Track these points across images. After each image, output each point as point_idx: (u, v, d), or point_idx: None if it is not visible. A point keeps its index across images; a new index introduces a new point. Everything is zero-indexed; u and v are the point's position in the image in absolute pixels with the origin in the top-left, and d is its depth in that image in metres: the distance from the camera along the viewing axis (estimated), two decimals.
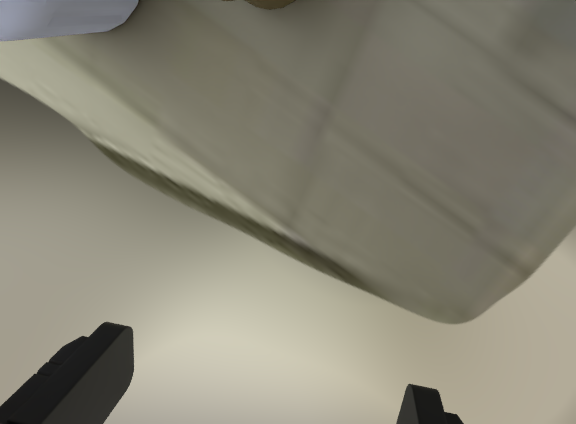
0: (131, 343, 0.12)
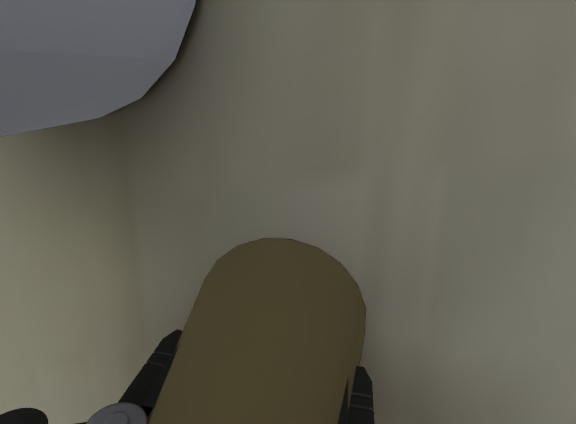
0: None
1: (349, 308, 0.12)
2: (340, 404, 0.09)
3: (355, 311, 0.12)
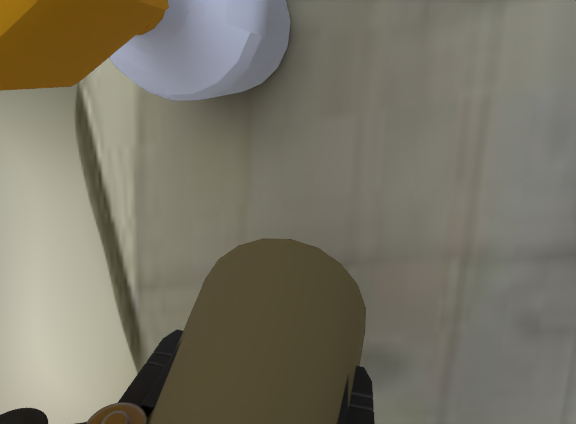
0: None
1: (349, 308, 0.12)
2: (340, 403, 0.09)
3: (355, 311, 0.12)
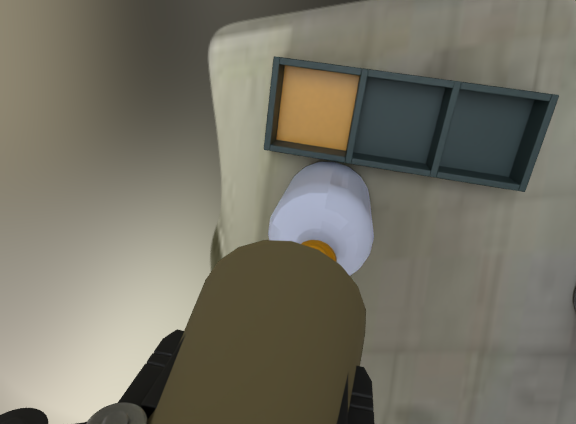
0: None
1: (349, 310, 0.12)
2: None
3: (355, 313, 0.12)
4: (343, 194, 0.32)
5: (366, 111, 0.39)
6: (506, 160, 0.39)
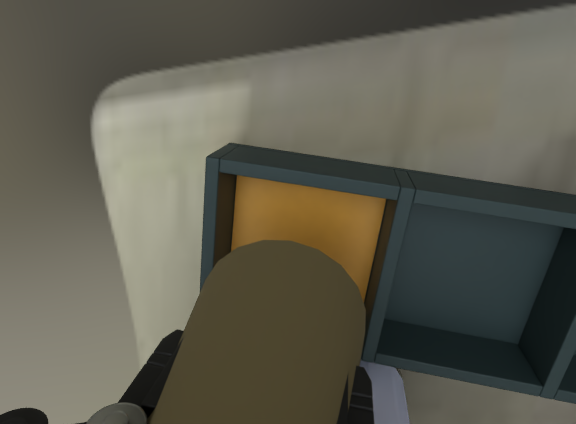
0: None
1: (349, 309, 0.12)
2: (340, 405, 0.09)
3: (355, 312, 0.12)
4: None
5: (402, 248, 0.20)
6: None
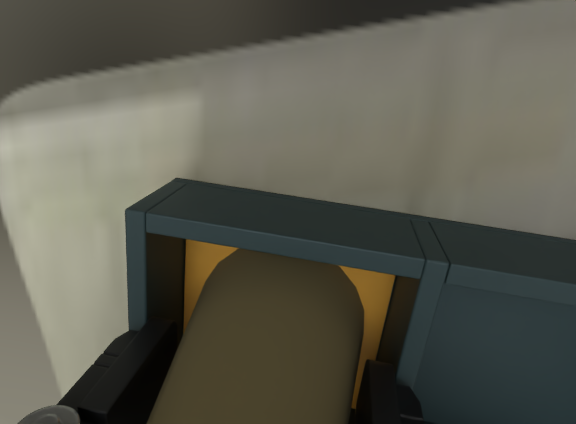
0: (176, 337, 0.12)
1: (348, 311, 0.12)
2: (339, 406, 0.09)
3: (354, 314, 0.13)
4: None
5: None
6: None
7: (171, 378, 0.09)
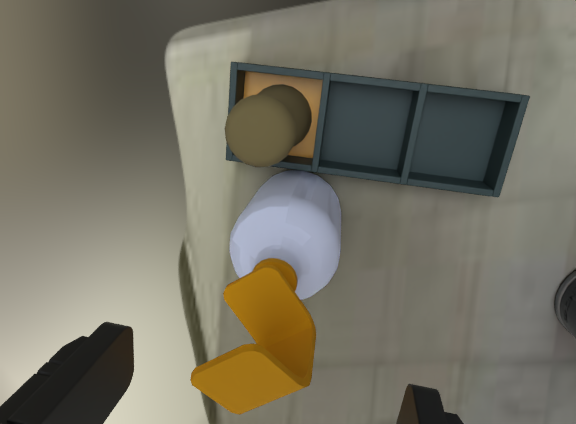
0: (131, 343, 0.12)
1: (303, 102, 0.35)
2: (298, 112, 0.33)
3: (306, 105, 0.36)
4: (305, 207, 0.30)
5: (332, 117, 0.37)
6: (479, 164, 0.37)
7: None
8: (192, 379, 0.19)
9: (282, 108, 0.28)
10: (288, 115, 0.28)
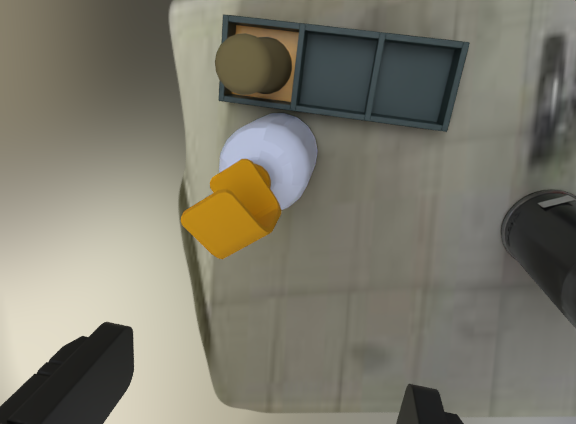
0: (131, 343, 0.12)
1: (284, 50, 0.42)
2: (277, 55, 0.39)
3: (286, 54, 0.43)
4: (280, 129, 0.37)
5: (309, 65, 0.44)
6: (433, 106, 0.43)
7: None
8: (182, 218, 0.25)
9: (261, 43, 0.34)
10: (265, 49, 0.34)
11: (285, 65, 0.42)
